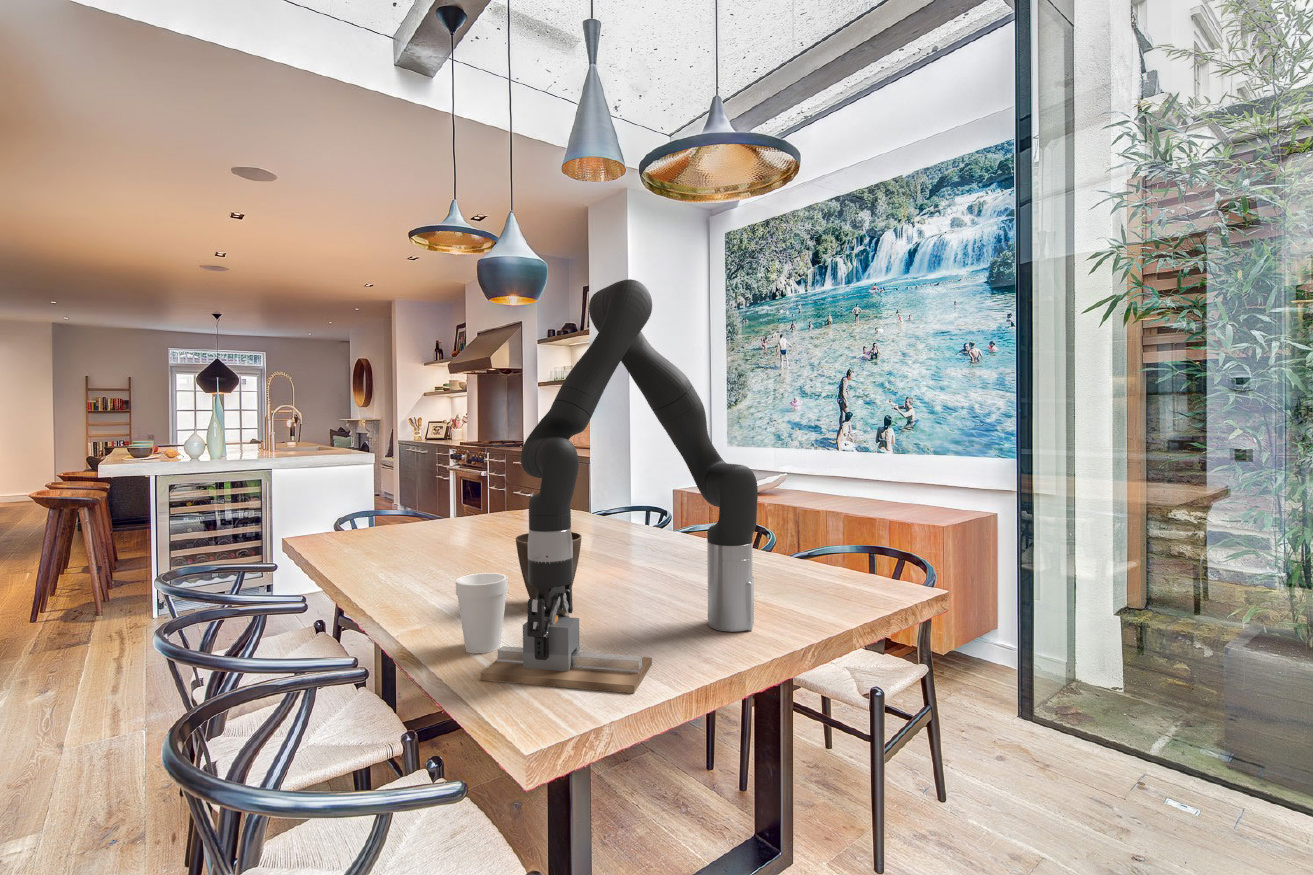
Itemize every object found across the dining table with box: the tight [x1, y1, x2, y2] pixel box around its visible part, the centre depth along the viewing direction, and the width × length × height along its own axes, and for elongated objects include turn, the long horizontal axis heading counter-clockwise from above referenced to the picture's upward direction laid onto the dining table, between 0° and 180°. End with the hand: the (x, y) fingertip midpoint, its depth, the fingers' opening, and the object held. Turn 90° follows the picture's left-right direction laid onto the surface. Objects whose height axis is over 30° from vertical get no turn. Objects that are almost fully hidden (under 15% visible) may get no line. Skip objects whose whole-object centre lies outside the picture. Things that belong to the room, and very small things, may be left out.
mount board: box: [480, 656, 653, 694], centre depth 109 cm, size 26×12×1 cm, turn 77°
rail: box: [496, 645, 643, 674], centre depth 109 cm, size 25×3×2 cm, turn 77°
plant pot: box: [515, 531, 583, 599], centre depth 148 cm, size 15×15×16 cm
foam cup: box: [455, 572, 509, 654], centre depth 121 cm, size 10×9×13 cm
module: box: [522, 615, 581, 671], centre depth 110 cm, size 8×5×8 cm
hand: (551, 650), depth 110 cm, fingers open, 8 cm apart
